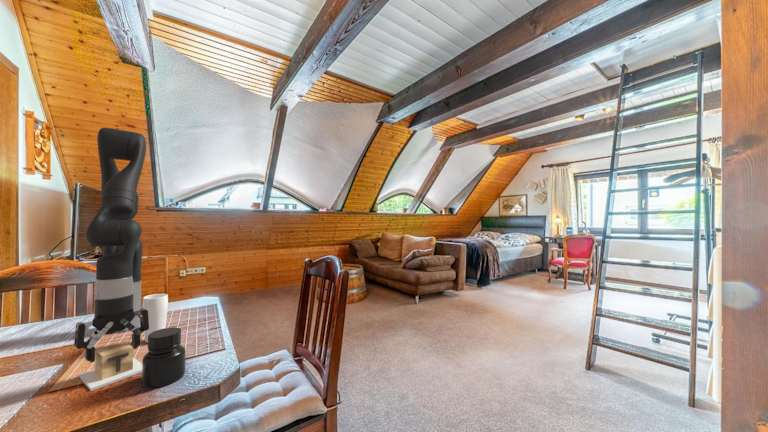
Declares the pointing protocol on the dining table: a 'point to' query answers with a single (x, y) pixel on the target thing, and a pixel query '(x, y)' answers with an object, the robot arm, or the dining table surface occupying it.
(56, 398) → the dining table surface
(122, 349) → the lettered block
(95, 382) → the white mat
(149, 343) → the ink bottle
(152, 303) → the white cup
